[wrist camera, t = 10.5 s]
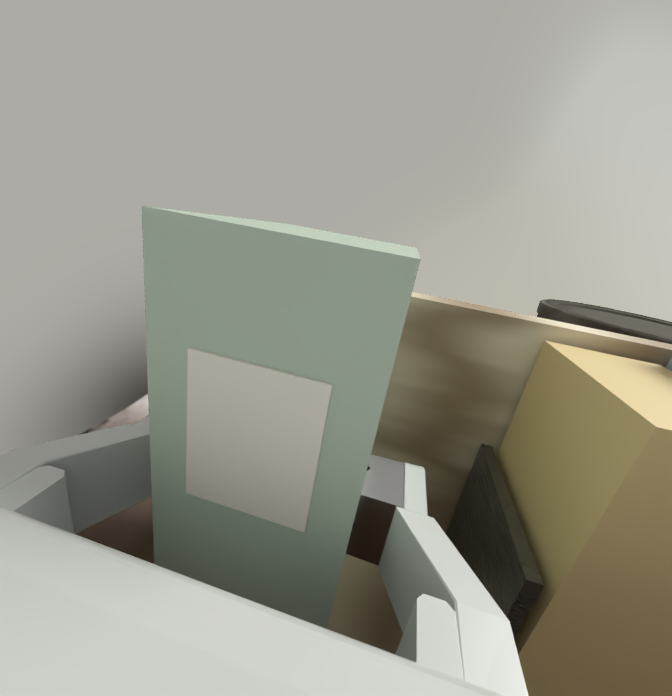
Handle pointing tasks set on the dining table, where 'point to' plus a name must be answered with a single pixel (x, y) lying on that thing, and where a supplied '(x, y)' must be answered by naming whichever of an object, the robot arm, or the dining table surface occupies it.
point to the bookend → (495, 539)
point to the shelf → (455, 419)
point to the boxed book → (265, 397)
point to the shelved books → (595, 522)
